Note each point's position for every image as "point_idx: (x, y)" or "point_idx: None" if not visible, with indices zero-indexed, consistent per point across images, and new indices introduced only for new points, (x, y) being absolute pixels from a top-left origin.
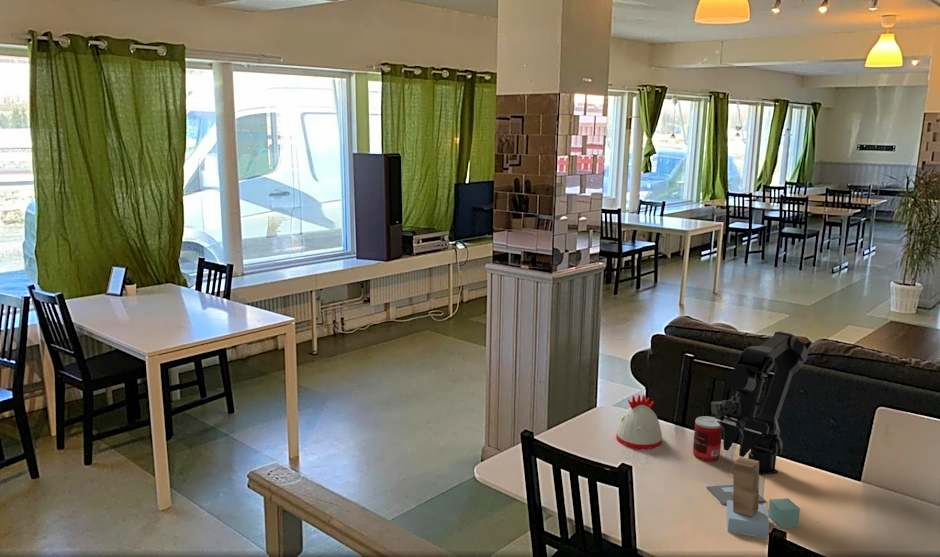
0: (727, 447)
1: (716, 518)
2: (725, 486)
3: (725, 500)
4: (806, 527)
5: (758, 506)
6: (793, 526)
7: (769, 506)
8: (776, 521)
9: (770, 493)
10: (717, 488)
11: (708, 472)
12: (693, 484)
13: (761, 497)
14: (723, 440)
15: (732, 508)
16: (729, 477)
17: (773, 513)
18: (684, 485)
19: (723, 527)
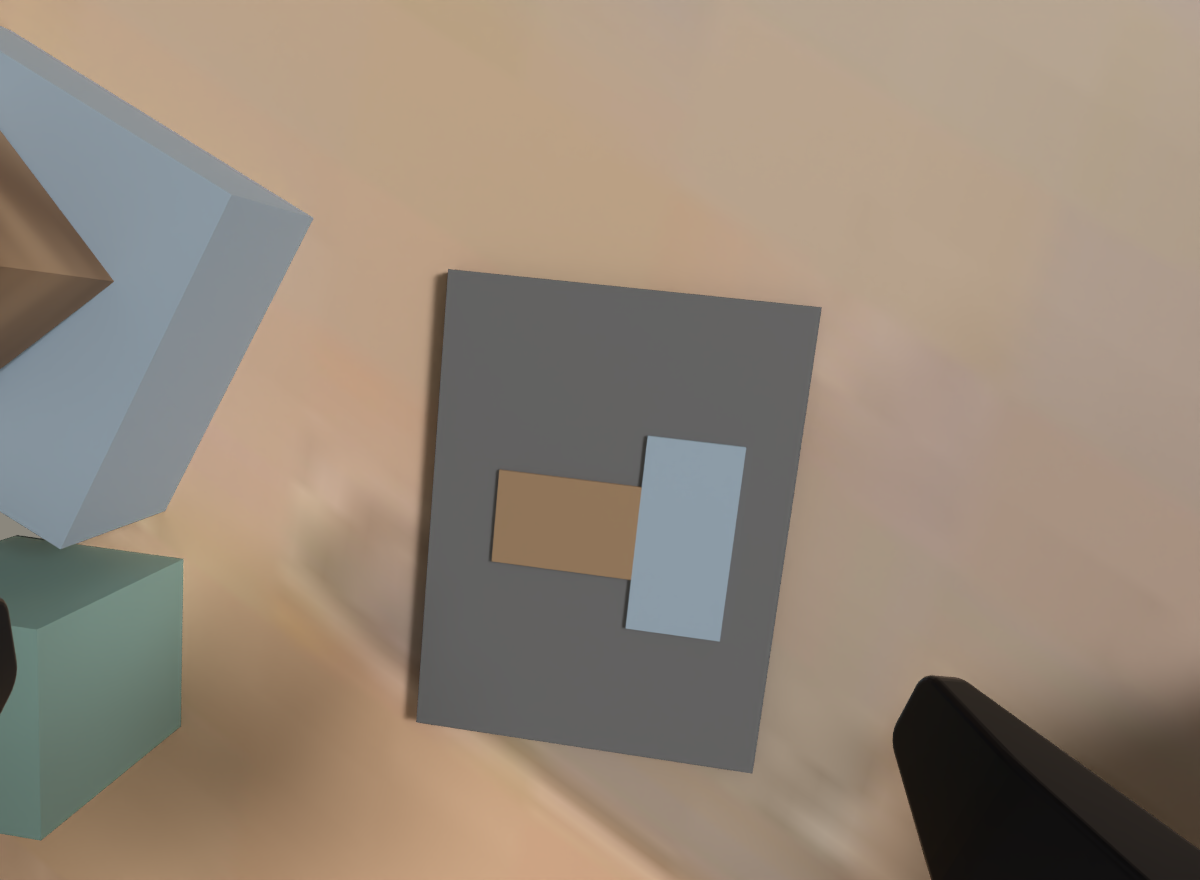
0: (931, 775)
1: (233, 55)
2: (764, 516)
3: (498, 337)
4: None
5: (55, 464)
6: None
7: (92, 598)
8: (25, 552)
9: (556, 861)
10: (748, 405)
11: (1139, 542)
12: (933, 203)
13: (478, 723)
14: (1174, 841)
15: (44, 137)
16: None
17: (43, 576)
18: (943, 79)
19: (79, 32)
